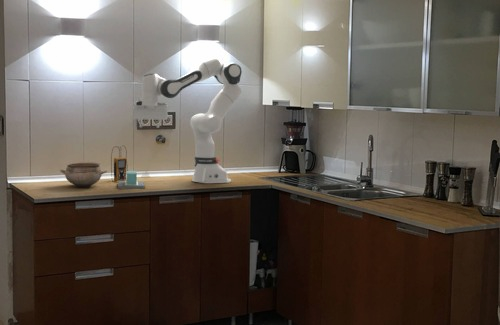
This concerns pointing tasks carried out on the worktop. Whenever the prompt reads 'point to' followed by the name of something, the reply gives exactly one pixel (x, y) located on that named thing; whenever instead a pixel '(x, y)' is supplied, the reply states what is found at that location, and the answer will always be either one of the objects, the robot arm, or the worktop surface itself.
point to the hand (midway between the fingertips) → (149, 127)
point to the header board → (124, 185)
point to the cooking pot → (83, 173)
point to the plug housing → (131, 178)
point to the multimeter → (119, 167)
